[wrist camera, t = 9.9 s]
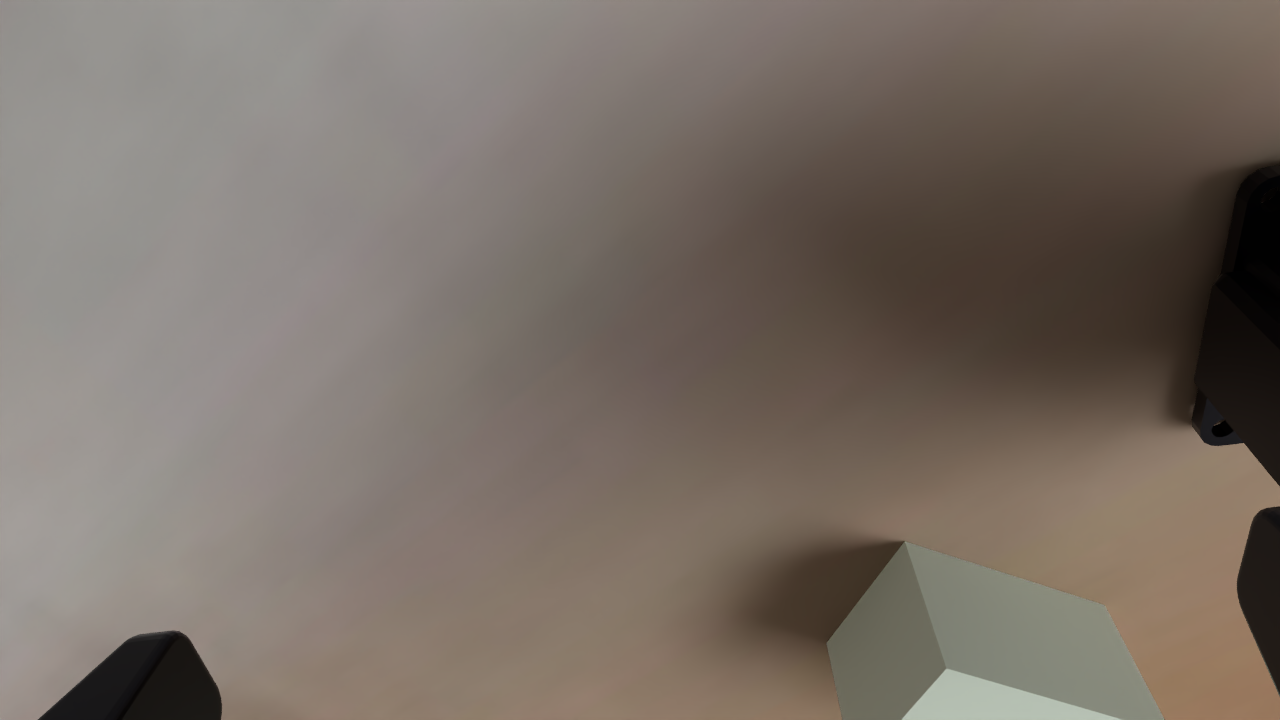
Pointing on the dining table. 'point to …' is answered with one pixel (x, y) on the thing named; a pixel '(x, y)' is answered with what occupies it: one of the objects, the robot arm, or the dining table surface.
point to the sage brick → (980, 649)
